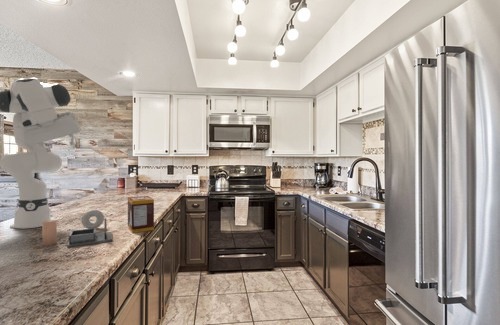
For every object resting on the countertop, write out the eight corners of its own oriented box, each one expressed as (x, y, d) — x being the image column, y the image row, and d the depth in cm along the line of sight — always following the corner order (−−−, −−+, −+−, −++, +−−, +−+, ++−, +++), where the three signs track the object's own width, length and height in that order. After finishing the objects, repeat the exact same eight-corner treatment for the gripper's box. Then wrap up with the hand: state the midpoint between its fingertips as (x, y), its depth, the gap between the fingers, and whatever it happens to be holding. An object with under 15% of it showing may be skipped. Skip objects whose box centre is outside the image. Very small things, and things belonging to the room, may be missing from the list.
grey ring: (81, 231, 128) (81, 211, 128) (80, 230, 131) (80, 210, 130) (104, 228, 134) (104, 208, 134) (103, 226, 137) (103, 207, 137)
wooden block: (43, 243, 110) (43, 220, 110) (57, 241, 113) (57, 219, 113) (41, 246, 106) (41, 223, 106) (55, 244, 109) (55, 221, 108)
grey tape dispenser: (70, 238, 116) (70, 220, 116) (111, 233, 124) (111, 217, 124) (67, 247, 105) (67, 227, 105) (112, 241, 113) (112, 223, 113)
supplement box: (148, 223, 144) (147, 195, 144) (154, 230, 131) (154, 199, 131) (127, 226, 139) (127, 196, 138) (131, 233, 126) (131, 200, 125)
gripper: (74, 110, 115) (88, 140, 119) (21, 124, 109) (37, 154, 113) (71, 110, 109) (85, 142, 113) (14, 125, 103) (32, 157, 107)
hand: (61, 148), depth 113 cm, fingers open, 8 cm apart
